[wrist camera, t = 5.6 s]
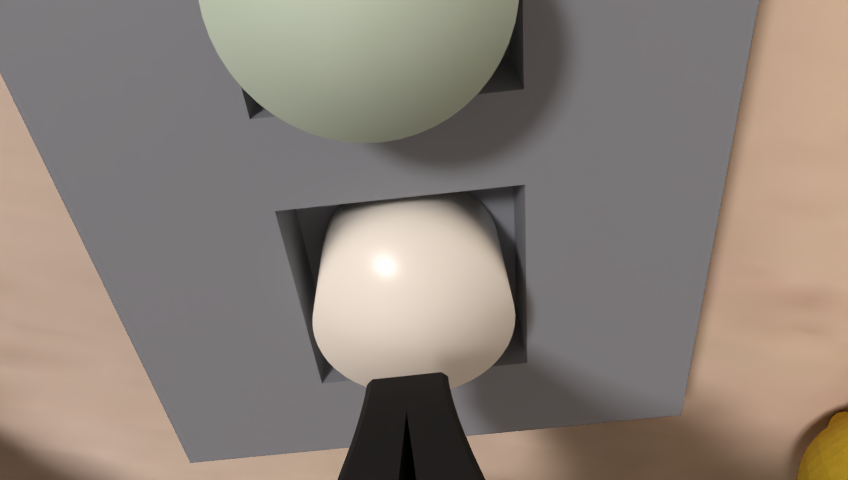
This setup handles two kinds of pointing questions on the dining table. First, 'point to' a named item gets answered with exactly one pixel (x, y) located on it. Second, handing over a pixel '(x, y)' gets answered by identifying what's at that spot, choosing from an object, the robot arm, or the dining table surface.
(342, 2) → the button sage
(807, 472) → the lemon
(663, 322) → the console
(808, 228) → the dining table surface
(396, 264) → the button ivory
